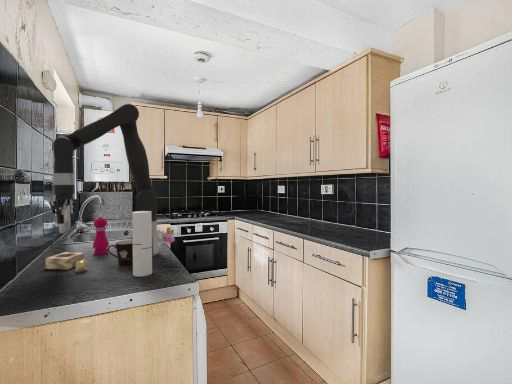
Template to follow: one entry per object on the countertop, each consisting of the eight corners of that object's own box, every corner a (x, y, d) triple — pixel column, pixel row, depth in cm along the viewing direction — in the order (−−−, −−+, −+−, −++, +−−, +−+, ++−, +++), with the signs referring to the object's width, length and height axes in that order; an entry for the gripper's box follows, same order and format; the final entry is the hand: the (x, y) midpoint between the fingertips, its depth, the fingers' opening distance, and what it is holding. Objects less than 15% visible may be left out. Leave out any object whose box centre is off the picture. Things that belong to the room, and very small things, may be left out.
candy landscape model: (144, 238, 180) (144, 224, 180) (179, 238, 180) (179, 224, 179) (124, 247, 155) (124, 231, 155) (165, 248, 155) (165, 231, 154)
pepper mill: (101, 255, 137) (101, 215, 136) (89, 254, 139) (88, 215, 138) (112, 251, 144) (111, 214, 143) (100, 251, 146) (99, 213, 145)
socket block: (84, 262, 125) (84, 252, 125) (67, 269, 115) (67, 258, 115) (64, 261, 126) (63, 252, 126) (45, 268, 116) (45, 258, 116)
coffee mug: (141, 262, 126) (141, 240, 125) (126, 267, 118) (126, 244, 117) (121, 259, 130) (121, 239, 129) (106, 265, 121) (105, 242, 121)
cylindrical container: (136, 270, 114) (135, 211, 113) (154, 270, 114) (153, 210, 113) (130, 276, 106) (129, 213, 106) (149, 276, 107) (148, 212, 106)
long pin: (72, 231, 122) (72, 204, 121) (65, 233, 118) (65, 205, 117) (64, 231, 122) (63, 204, 122) (57, 233, 118) (56, 205, 118)
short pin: (89, 269, 115) (89, 260, 115) (82, 272, 111) (82, 262, 111) (80, 269, 116) (80, 259, 116) (73, 272, 112) (73, 262, 112)
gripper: (59, 184, 112) (60, 225, 112) (83, 183, 126) (84, 220, 127) (42, 184, 112) (43, 225, 113) (68, 183, 126) (69, 220, 127)
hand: (65, 222), depth 120 cm, fingers closed on long pin, 4 cm apart
